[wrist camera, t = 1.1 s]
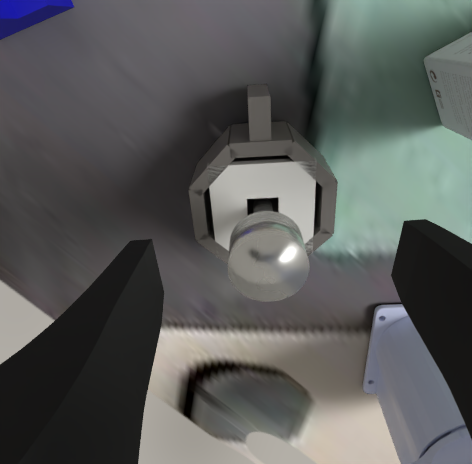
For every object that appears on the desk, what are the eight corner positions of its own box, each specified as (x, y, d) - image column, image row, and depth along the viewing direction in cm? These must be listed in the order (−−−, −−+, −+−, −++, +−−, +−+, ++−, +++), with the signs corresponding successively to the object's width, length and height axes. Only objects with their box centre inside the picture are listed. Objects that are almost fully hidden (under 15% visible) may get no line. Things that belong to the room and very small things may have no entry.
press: (318, 230, 24) (331, 267, 21) (206, 235, 25) (200, 273, 21) (325, 78, 20) (344, 92, 16) (188, 87, 20) (176, 102, 16)
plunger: (292, 230, 20) (308, 300, 15) (234, 233, 20) (230, 303, 15) (293, 175, 19) (310, 233, 14) (229, 178, 19) (224, 237, 14)
